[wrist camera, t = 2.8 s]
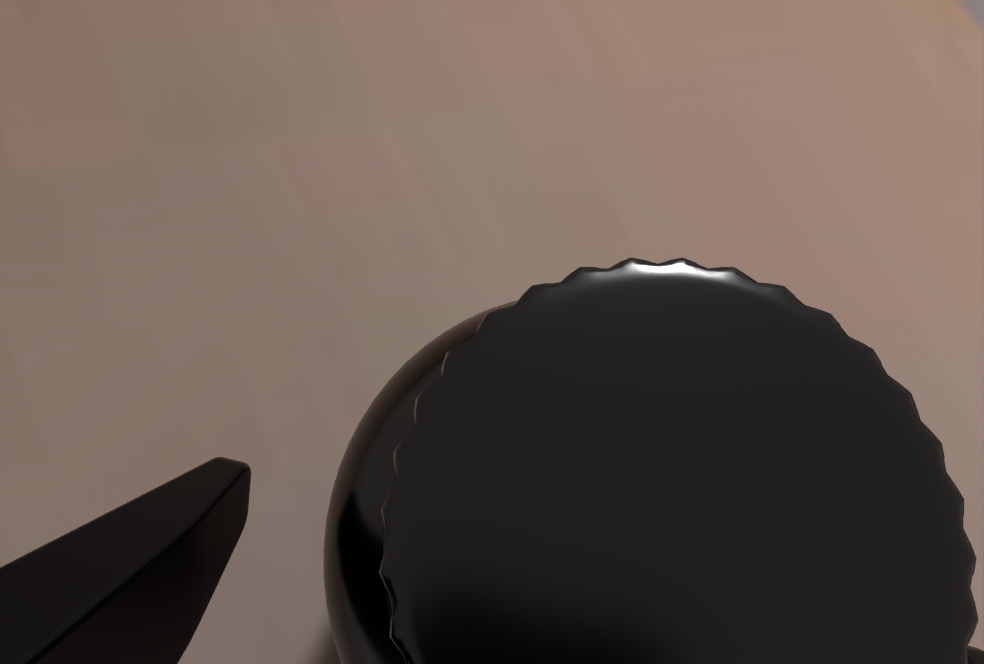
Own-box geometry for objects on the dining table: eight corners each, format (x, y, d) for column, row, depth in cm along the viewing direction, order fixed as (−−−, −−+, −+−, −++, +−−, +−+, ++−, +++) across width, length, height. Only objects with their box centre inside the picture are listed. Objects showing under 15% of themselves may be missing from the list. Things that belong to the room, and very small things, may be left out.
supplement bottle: (469, 359, 18) (528, 22, 7) (707, 495, 18) (1206, 375, 6) (317, 609, 16) (37, 722, 5) (581, 773, 15) (986, 1357, 4)
